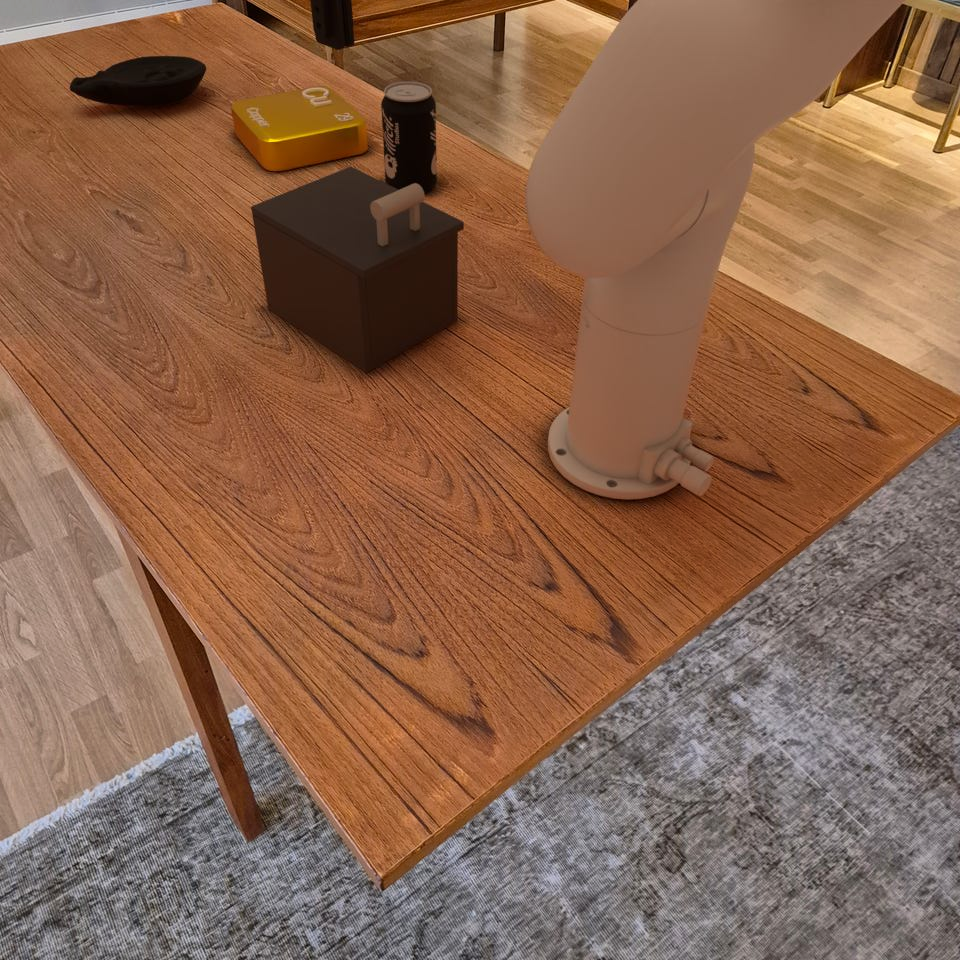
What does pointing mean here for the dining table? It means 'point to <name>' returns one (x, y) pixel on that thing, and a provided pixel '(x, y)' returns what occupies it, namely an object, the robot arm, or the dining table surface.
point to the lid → (358, 220)
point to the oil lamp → (143, 81)
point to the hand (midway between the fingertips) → (335, 43)
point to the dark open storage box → (359, 296)
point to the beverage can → (409, 135)
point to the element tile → (299, 128)
